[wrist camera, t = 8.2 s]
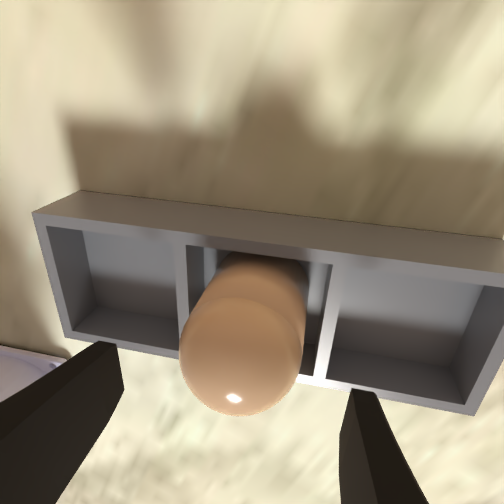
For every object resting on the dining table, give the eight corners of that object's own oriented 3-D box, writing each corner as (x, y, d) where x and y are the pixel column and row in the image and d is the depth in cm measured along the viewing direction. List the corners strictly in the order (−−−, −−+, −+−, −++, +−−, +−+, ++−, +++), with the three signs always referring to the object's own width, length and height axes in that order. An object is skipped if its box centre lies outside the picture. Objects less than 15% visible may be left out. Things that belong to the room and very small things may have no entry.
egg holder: (101, 301, 19) (64, 337, 16) (79, 190, 16) (31, 212, 14) (451, 361, 16) (474, 416, 14) (502, 239, 13) (544, 279, 11)
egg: (216, 317, 17) (162, 430, 11) (215, 238, 15) (149, 330, 9) (303, 331, 16) (289, 458, 11) (314, 250, 14) (304, 356, 9)
